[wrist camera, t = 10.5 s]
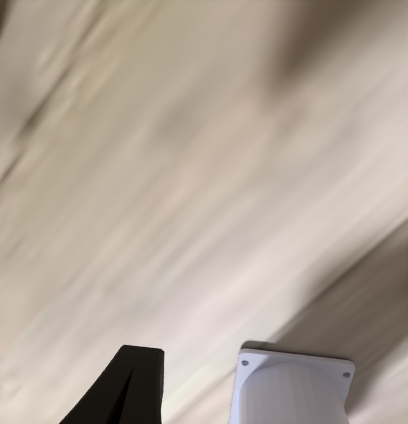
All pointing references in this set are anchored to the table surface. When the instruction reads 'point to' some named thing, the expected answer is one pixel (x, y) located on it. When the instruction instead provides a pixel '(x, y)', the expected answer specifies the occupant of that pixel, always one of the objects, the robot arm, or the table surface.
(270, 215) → the table surface
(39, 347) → the table surface
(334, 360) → the robot arm
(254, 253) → the table surface
